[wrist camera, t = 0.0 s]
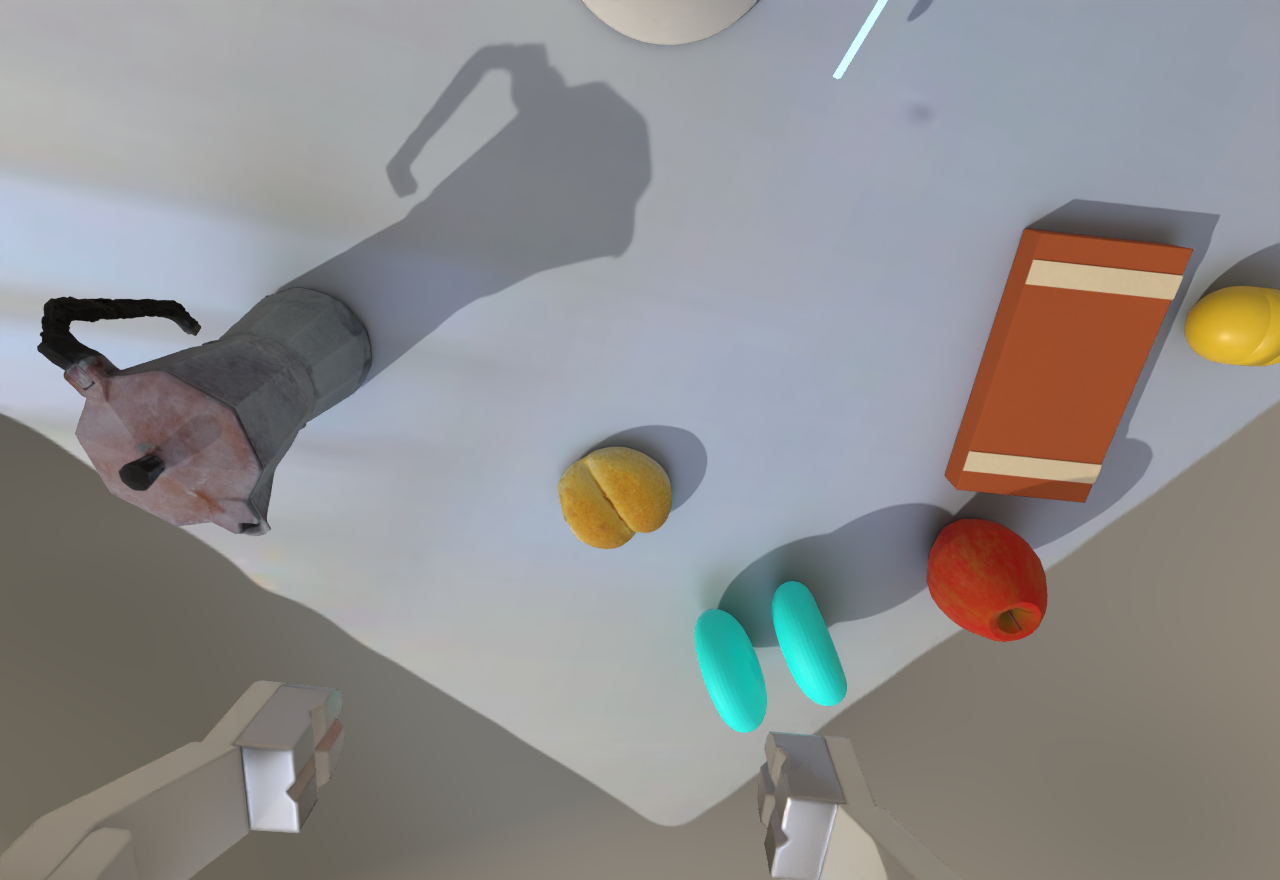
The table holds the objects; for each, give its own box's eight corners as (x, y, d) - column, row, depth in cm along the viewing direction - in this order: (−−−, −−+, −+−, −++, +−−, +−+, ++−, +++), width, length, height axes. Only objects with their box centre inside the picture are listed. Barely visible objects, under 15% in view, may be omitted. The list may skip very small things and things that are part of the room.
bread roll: (687, 506, 55) (689, 532, 51) (593, 547, 57) (588, 575, 53) (641, 423, 52) (640, 445, 48) (543, 470, 54) (535, 494, 50)
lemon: (1154, 347, 48) (1207, 369, 44) (1185, 275, 46) (1245, 290, 42) (1254, 358, 48) (1318, 381, 44) (1289, 286, 46) (1361, 302, 42)
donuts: (686, 592, 58) (691, 675, 49) (794, 553, 56) (820, 631, 47) (730, 673, 62) (742, 764, 53) (833, 638, 60) (864, 726, 51)
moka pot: (341, 451, 54) (175, 610, 36) (187, 297, 49) (-95, 389, 31) (425, 386, 51) (295, 520, 33) (272, 217, 46) (20, 265, 28)
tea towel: (1023, 228, 45) (1043, 232, 43) (1168, 244, 45) (1195, 249, 43) (944, 475, 53) (956, 490, 51) (1067, 488, 53) (1085, 503, 51)
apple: (900, 516, 55) (951, 597, 45) (1003, 487, 53) (1080, 565, 44) (918, 593, 58) (970, 685, 48) (1016, 568, 56) (1090, 658, 47)
